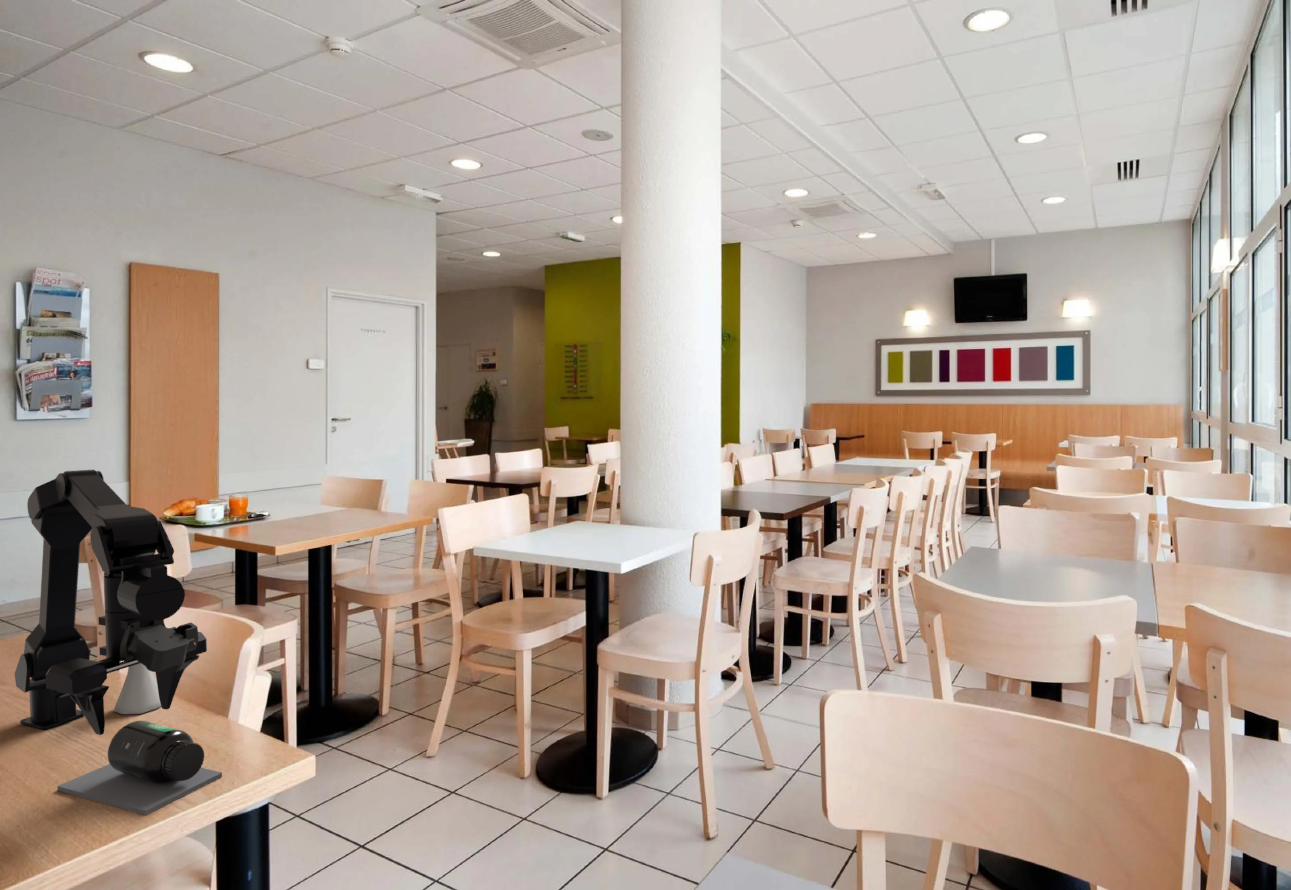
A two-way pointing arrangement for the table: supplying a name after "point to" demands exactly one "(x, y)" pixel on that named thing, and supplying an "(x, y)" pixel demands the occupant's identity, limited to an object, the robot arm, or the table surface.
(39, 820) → the table surface
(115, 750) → the supplement bottle
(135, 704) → the flask
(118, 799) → the placemat
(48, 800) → the table surface
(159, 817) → the table surface
